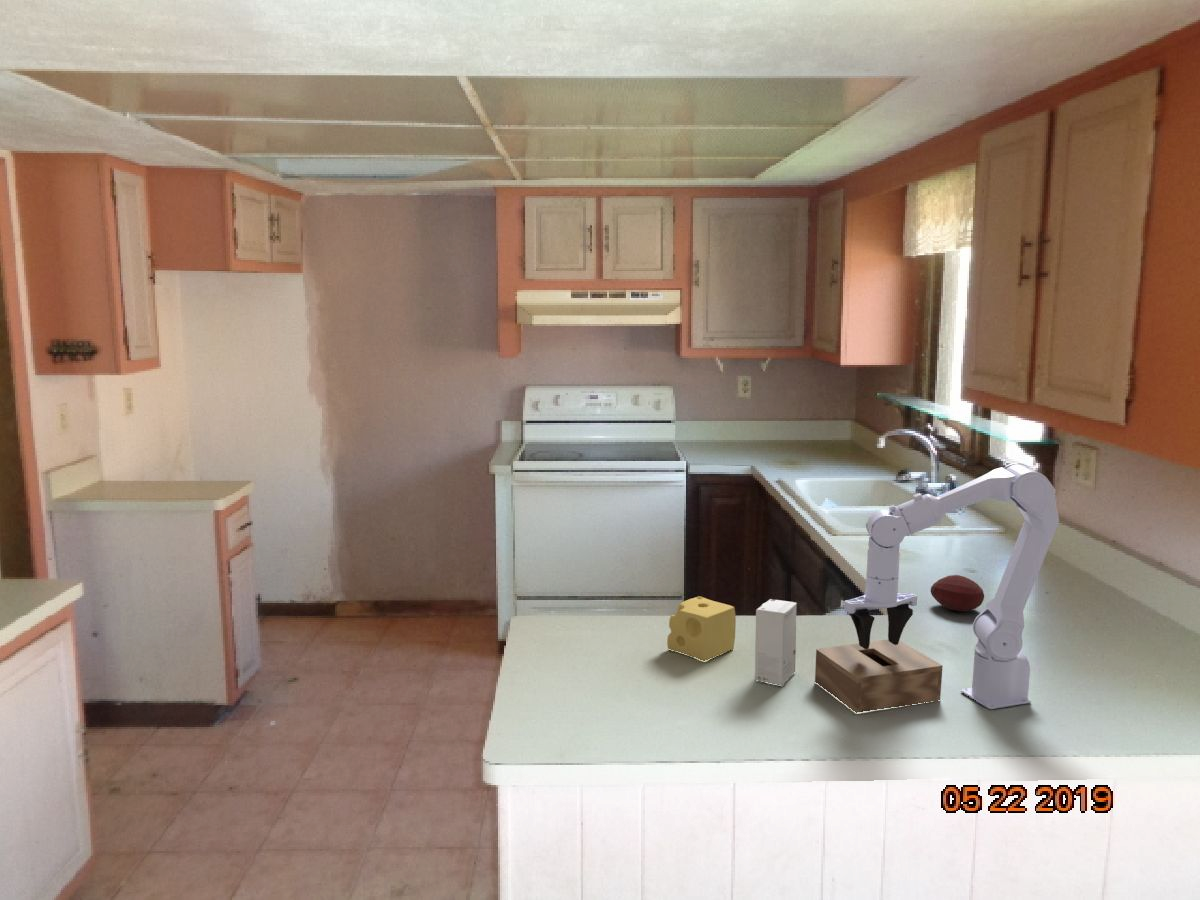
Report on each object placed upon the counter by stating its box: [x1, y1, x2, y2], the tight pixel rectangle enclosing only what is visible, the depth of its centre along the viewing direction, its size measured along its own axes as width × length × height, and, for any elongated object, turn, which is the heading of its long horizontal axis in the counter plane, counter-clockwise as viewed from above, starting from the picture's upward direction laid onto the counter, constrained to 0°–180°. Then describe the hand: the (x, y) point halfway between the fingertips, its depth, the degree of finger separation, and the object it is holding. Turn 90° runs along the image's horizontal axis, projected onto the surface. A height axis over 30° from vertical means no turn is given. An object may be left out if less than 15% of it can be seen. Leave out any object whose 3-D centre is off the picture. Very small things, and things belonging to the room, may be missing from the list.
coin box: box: [814, 639, 943, 713], centre depth 171 cm, size 18×14×7 cm
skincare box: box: [754, 598, 798, 687], centre depth 177 cm, size 8×6×15 cm
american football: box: [930, 574, 985, 612], centre depth 215 cm, size 12×11×8 cm
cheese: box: [667, 595, 737, 661], centre depth 191 cm, size 10×11×10 cm
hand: (878, 645), depth 170 cm, fingers open, 6 cm apart
